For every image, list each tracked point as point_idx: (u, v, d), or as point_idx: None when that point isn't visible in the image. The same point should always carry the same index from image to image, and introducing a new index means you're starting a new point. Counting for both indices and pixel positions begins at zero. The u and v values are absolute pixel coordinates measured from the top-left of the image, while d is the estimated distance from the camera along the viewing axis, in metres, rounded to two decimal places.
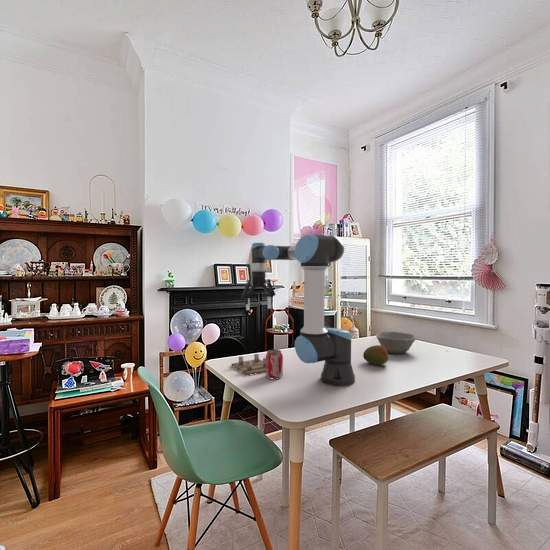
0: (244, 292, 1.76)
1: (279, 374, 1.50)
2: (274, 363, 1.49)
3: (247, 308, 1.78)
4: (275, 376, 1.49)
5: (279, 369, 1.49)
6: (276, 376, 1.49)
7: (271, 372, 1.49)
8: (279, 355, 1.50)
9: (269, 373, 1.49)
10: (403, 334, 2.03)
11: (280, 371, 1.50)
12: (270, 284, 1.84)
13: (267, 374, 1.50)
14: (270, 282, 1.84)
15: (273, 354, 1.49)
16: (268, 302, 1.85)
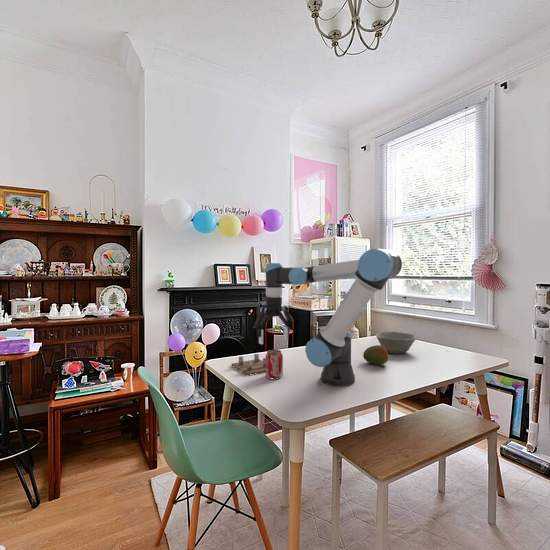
0: (257, 323, 1.46)
1: (279, 374, 1.50)
2: (274, 363, 1.49)
3: (260, 341, 1.48)
4: (275, 376, 1.49)
5: (279, 369, 1.49)
6: (276, 376, 1.49)
7: (271, 372, 1.49)
8: (279, 355, 1.50)
9: (269, 373, 1.49)
10: (403, 334, 2.03)
11: (280, 371, 1.50)
12: (287, 312, 1.55)
13: (267, 374, 1.50)
14: (287, 309, 1.54)
15: (273, 354, 1.49)
16: (284, 333, 1.56)
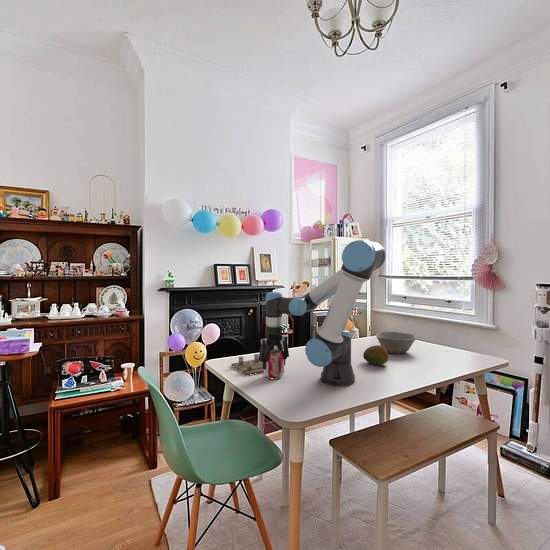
0: (261, 356, 1.48)
1: (279, 374, 1.50)
2: (274, 362, 1.49)
3: (265, 374, 1.50)
4: (275, 376, 1.49)
5: (279, 369, 1.50)
6: (276, 376, 1.49)
7: (271, 372, 1.49)
8: (279, 355, 1.50)
9: (269, 372, 1.50)
10: (403, 334, 2.03)
11: (280, 371, 1.50)
12: (286, 343, 1.55)
13: None
14: None
15: (273, 354, 1.49)
16: None
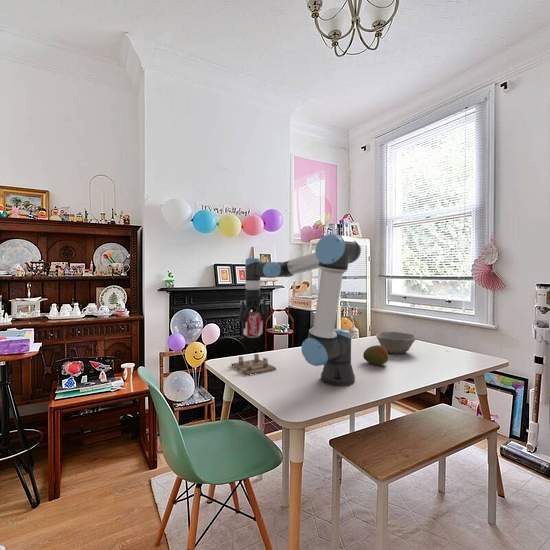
0: (240, 316, 1.61)
1: (257, 333, 1.62)
2: (253, 322, 1.61)
3: (244, 333, 1.63)
4: (253, 334, 1.62)
5: (257, 328, 1.62)
6: (254, 335, 1.62)
7: (250, 331, 1.62)
8: (257, 315, 1.63)
9: (247, 331, 1.62)
10: (403, 334, 2.03)
11: (258, 330, 1.63)
12: (264, 305, 1.67)
13: None
14: None
15: (251, 314, 1.62)
16: None
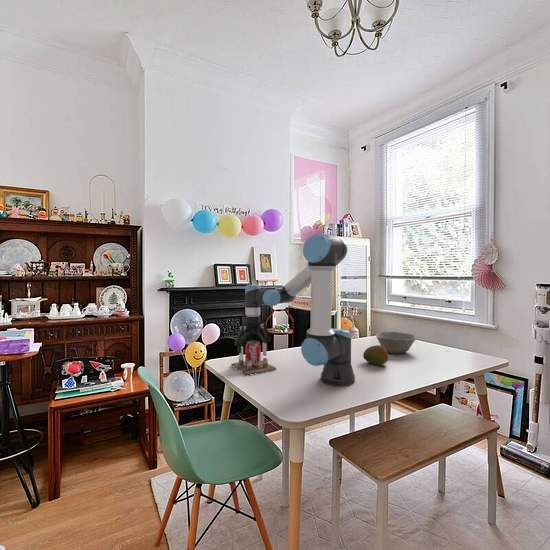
0: (237, 340, 1.60)
1: (257, 363, 1.63)
2: (253, 352, 1.62)
3: (240, 357, 1.62)
4: (253, 364, 1.62)
5: (257, 358, 1.63)
6: (254, 364, 1.62)
7: None
8: (257, 345, 1.63)
9: None
10: (403, 334, 2.03)
11: (258, 360, 1.63)
12: (265, 329, 1.68)
13: (246, 363, 1.64)
14: (265, 327, 1.68)
15: (252, 344, 1.62)
16: (263, 348, 1.70)
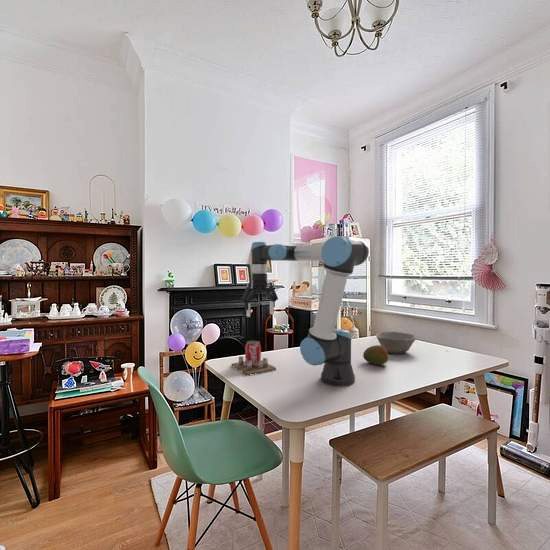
0: (244, 297, 1.59)
1: (257, 363, 1.63)
2: (253, 352, 1.62)
3: (247, 314, 1.60)
4: (253, 364, 1.62)
5: (257, 358, 1.63)
6: (254, 364, 1.62)
7: None
8: (257, 345, 1.63)
9: None
10: (403, 334, 2.03)
11: (258, 360, 1.63)
12: (272, 287, 1.67)
13: (246, 363, 1.64)
14: (272, 285, 1.67)
15: (252, 344, 1.62)
16: (270, 307, 1.68)
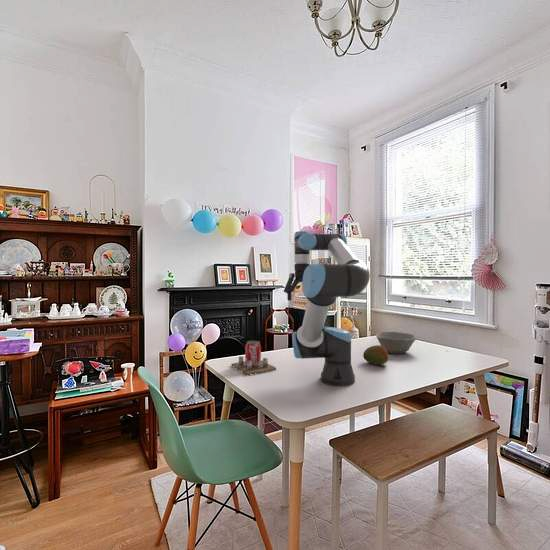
0: (287, 287, 1.56)
1: (257, 363, 1.63)
2: (253, 352, 1.62)
3: (290, 305, 1.58)
4: (253, 364, 1.62)
5: (257, 358, 1.63)
6: (254, 364, 1.62)
7: None
8: (257, 345, 1.63)
9: None
10: (403, 334, 2.03)
11: (258, 360, 1.63)
12: None
13: (246, 363, 1.64)
14: None
15: (252, 344, 1.62)
16: None
